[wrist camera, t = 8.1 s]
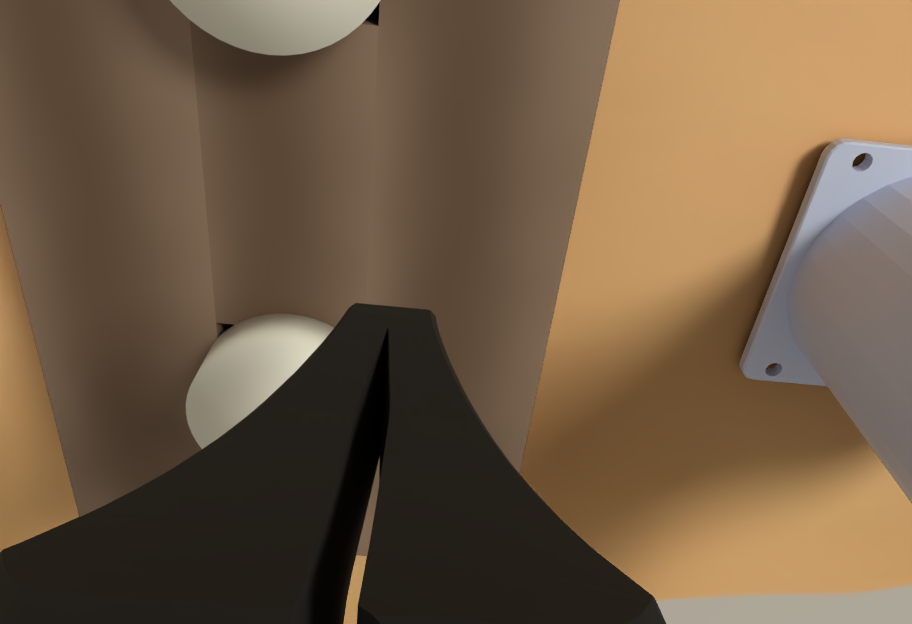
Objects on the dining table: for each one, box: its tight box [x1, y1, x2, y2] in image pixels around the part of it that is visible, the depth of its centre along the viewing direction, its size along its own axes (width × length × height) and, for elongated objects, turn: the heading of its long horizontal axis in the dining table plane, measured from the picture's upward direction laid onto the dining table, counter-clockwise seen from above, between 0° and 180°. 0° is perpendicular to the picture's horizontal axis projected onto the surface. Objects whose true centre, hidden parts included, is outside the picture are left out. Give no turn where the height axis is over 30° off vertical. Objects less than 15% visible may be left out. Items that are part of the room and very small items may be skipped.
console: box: [0, 0, 620, 556], centre depth 18 cm, size 14×26×3 cm, turn 174°
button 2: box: [186, 314, 334, 449], centre depth 21 cm, size 5×5×4 cm
